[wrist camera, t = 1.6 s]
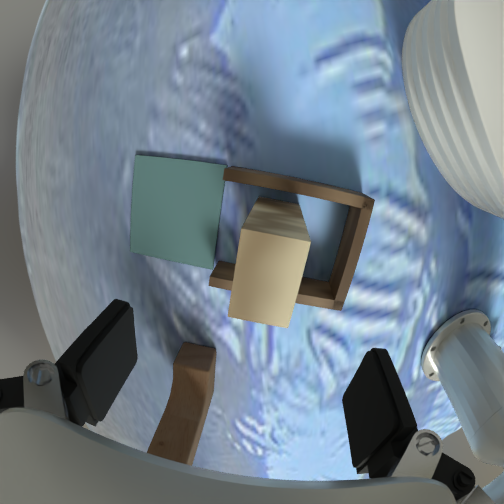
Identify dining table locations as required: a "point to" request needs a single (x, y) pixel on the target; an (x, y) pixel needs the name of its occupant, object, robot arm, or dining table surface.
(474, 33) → the plate stack
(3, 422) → the robot arm
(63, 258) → the dining table surface
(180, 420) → the wooden block
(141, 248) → the mat
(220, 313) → the dining table surface
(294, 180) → the crate
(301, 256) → the birch block
